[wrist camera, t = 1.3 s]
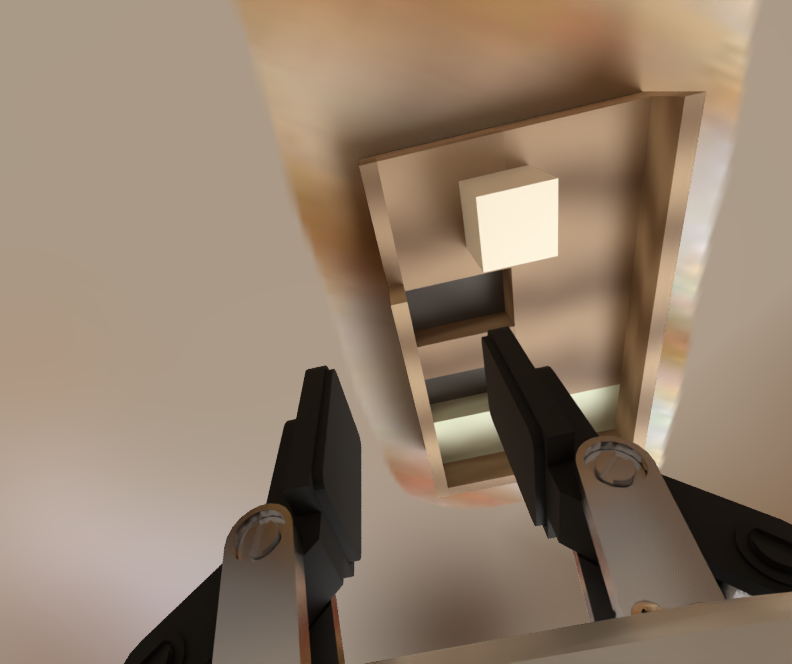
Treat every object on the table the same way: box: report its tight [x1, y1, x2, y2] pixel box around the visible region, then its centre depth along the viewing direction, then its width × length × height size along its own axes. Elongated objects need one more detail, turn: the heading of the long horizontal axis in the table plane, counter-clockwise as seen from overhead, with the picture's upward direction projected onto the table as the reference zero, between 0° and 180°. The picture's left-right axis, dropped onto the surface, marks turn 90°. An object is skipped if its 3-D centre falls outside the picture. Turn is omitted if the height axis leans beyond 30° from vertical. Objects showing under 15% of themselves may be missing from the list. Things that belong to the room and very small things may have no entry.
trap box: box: [359, 92, 706, 498], centre depth 28 cm, size 26×17×5 cm, turn 12°
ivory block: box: [459, 165, 558, 273], centre depth 22 cm, size 4×4×4 cm
